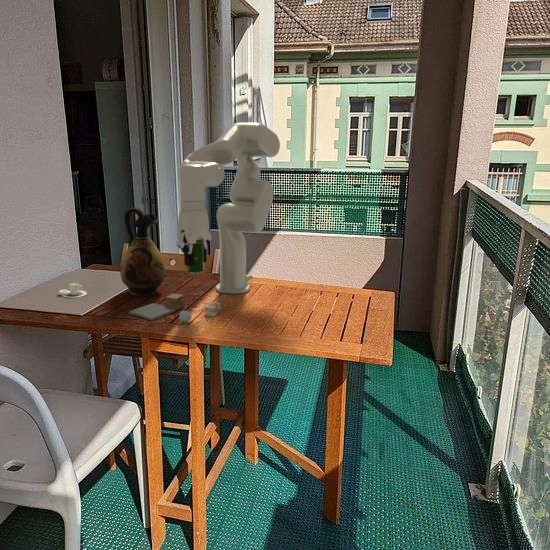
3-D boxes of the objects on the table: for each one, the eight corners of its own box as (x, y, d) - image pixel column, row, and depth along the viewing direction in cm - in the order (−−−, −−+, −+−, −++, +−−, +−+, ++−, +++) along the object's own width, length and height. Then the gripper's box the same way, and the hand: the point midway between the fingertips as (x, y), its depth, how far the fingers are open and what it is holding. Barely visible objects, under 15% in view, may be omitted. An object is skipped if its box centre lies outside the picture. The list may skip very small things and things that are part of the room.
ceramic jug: (173, 288, 180) (170, 207, 172) (152, 300, 166) (148, 212, 158) (132, 283, 184) (128, 204, 176) (108, 295, 170) (102, 209, 162)
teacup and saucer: (55, 297, 169) (54, 285, 167) (71, 290, 176) (70, 279, 175) (76, 300, 166) (75, 288, 165) (91, 293, 173) (90, 282, 172)
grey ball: (185, 319, 150) (184, 308, 149) (194, 321, 148) (193, 310, 147) (176, 322, 147) (176, 311, 146) (185, 325, 145) (185, 313, 144)
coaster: (153, 305, 161) (153, 303, 161) (175, 311, 156) (175, 309, 156) (129, 313, 153) (129, 311, 153) (151, 320, 148) (151, 318, 148)
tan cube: (172, 304, 162) (172, 293, 161) (183, 306, 161) (183, 294, 160) (166, 308, 159) (166, 296, 158) (177, 310, 158) (177, 298, 157)
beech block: (211, 310, 158) (211, 301, 157) (220, 311, 157) (220, 302, 157) (205, 315, 154) (205, 306, 153) (214, 316, 153) (214, 307, 152)
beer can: (203, 269, 157) (202, 232, 153) (205, 274, 152) (204, 236, 149) (186, 270, 156) (185, 233, 152) (188, 275, 151) (186, 237, 147)
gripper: (202, 201, 157) (204, 256, 162) (164, 208, 143) (167, 267, 148) (221, 203, 153) (222, 259, 158) (183, 210, 139) (185, 271, 144)
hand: (195, 262), depth 153 cm, fingers closed on beer can, 5 cm apart
